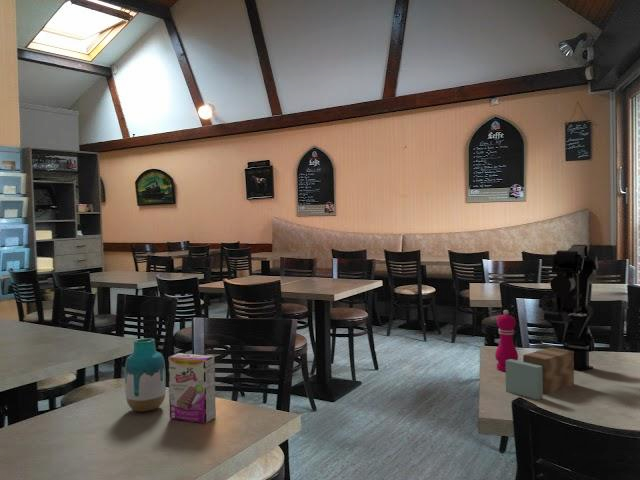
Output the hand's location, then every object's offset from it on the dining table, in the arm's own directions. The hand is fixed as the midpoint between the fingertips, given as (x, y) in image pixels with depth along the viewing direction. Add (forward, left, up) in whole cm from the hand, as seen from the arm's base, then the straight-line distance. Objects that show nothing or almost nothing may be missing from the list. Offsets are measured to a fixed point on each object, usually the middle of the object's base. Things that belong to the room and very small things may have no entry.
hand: (568, 340), depth 161 cm
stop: (+24, +5, -12) cm, 27 cm away
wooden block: (+12, +3, -12) cm, 17 cm away
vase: (+122, -35, -12) cm, 128 cm away
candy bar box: (+112, -22, -12) cm, 115 cm away
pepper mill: (+9, -17, -12) cm, 23 cm away
